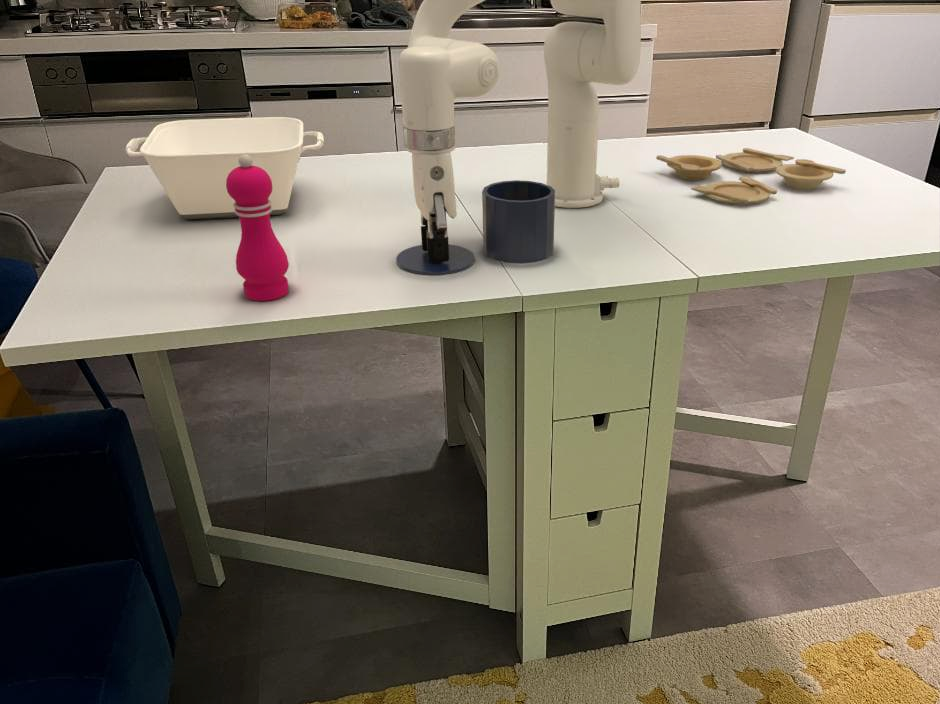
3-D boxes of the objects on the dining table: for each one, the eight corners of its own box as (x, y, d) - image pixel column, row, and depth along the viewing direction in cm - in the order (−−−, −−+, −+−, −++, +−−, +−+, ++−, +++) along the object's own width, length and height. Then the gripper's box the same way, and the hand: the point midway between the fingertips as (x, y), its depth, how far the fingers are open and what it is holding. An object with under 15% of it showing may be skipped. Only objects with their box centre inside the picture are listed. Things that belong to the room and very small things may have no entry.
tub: (129, 233, 142) (110, 157, 136) (153, 188, 164) (138, 121, 158) (332, 221, 149) (323, 149, 142) (329, 179, 171) (322, 115, 165)
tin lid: (465, 247, 139) (464, 214, 137) (482, 274, 129) (482, 239, 126) (391, 253, 136) (388, 220, 133) (403, 282, 126) (400, 247, 123)
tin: (541, 239, 143) (542, 178, 138) (562, 262, 134) (564, 198, 129) (476, 244, 140) (475, 183, 135) (493, 269, 131) (492, 204, 126)
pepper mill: (247, 283, 125) (223, 148, 114) (296, 282, 125) (276, 147, 115) (236, 303, 119) (209, 162, 108) (288, 302, 119) (266, 161, 109)
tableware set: (756, 154, 195) (759, 136, 192) (856, 187, 173) (860, 167, 171) (636, 174, 179) (638, 154, 177) (729, 212, 158) (732, 191, 155)
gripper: (467, 151, 117) (470, 273, 126) (443, 124, 131) (447, 236, 140) (414, 154, 115) (421, 278, 124) (395, 126, 129) (403, 239, 138)
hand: (435, 254), depth 132 cm, fingers open, 4 cm apart
